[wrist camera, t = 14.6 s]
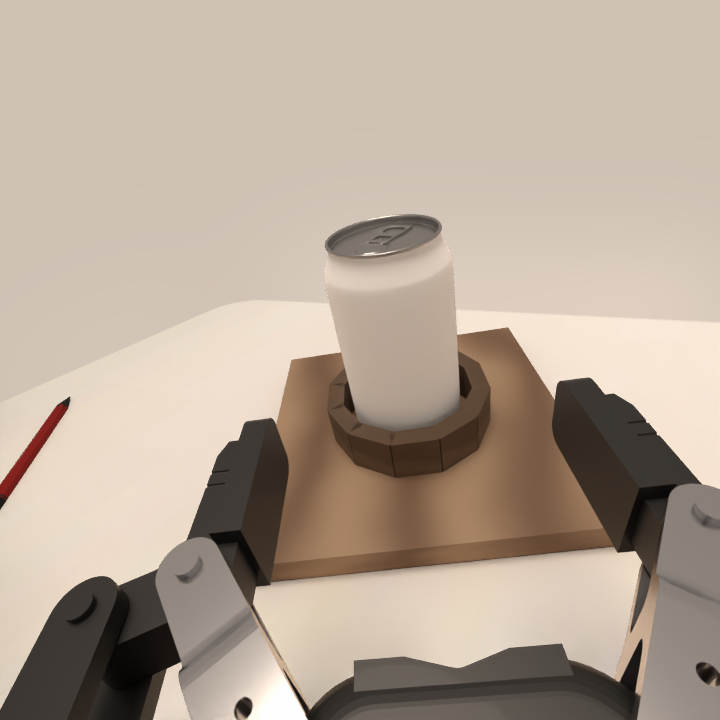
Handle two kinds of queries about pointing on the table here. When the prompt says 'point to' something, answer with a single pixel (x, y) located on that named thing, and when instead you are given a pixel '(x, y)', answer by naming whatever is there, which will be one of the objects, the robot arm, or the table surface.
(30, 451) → the pencil
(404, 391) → the can
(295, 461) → the socket board
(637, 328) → the table surface
